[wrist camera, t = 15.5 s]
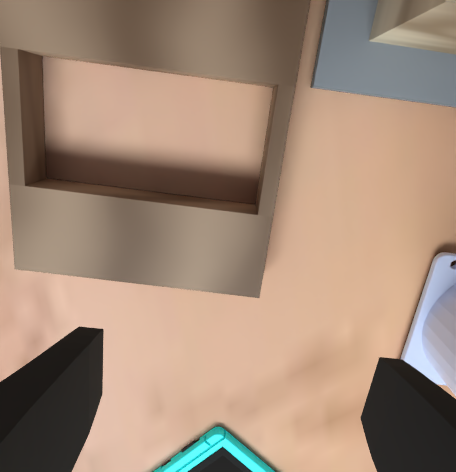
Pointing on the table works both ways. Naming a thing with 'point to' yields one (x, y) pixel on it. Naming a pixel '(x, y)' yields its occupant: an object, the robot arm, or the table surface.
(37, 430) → the robot arm
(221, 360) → the table surface
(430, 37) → the birch block
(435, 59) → the slate mat
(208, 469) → the handheld game console
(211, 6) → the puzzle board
